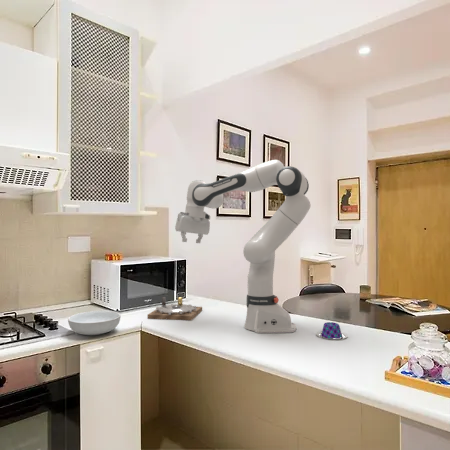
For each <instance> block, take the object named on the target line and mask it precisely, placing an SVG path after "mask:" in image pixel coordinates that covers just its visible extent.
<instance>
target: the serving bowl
mask: <svg viewBox="0 0 450 450" xmlns="http://www.w3.org/2000/svg"><path fill="white" fill-rule="evenodd" d="M67 321H68V326H69V328H70V329H71V330H72V331H73V332H75V333H76V334H80V335H84V336H85V335H86V336H99V335H102V334H105V333H106V334H107V333H108V332H111V331H113V330H114V329H115V328H116V327H118V325H119V323H120V321H121V313H119V312H117V311H114V310H113V311H112V310H90V311H85V312H79V313H75V314H73V315H70V316H69V317H68V318H67Z"/></svg>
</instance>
